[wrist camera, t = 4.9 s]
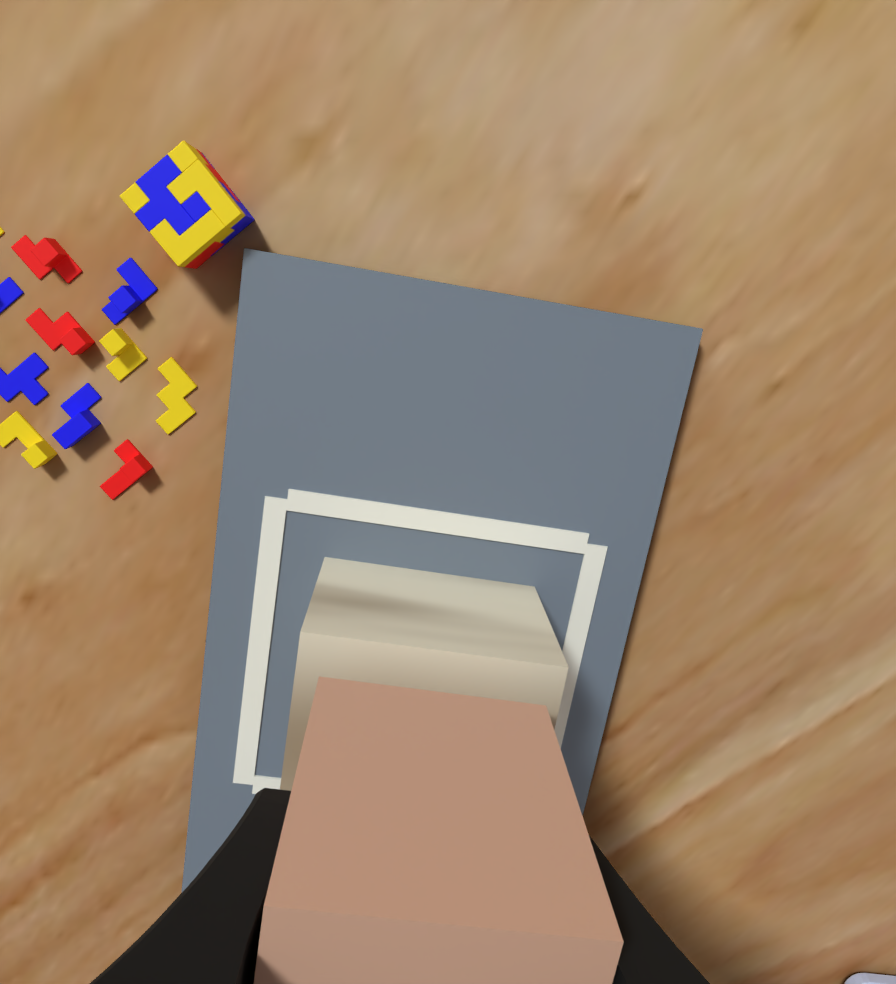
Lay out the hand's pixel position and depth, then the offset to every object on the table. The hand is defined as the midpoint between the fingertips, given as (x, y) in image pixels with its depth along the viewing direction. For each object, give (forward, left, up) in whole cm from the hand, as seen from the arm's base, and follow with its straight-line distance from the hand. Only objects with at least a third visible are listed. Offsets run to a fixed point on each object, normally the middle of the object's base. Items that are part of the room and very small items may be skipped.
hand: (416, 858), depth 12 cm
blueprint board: (0, 0, -7) cm, 7 cm away
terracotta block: (0, 0, -2) cm, 2 cm away
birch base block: (0, 0, -6) cm, 6 cm away
